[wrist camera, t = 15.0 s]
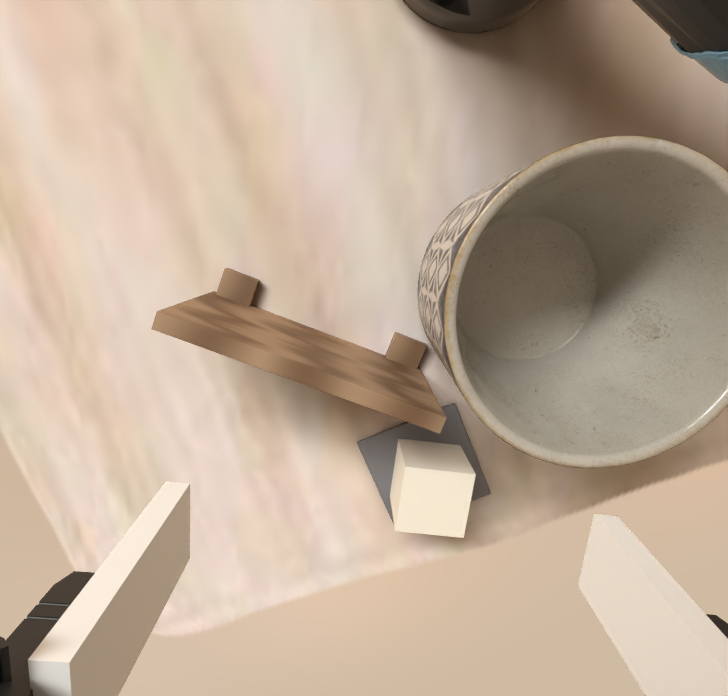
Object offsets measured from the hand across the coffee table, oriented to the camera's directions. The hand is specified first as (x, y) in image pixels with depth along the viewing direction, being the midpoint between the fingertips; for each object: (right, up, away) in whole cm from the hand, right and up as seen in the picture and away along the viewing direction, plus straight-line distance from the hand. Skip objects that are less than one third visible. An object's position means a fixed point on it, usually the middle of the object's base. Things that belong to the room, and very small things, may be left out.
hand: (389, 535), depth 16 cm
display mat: (+5, -6, +32) cm, 33 cm away
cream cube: (+5, -6, +31) cm, 32 cm away
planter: (+13, +12, +28) cm, 33 cm away
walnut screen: (-5, +7, +29) cm, 30 cm away
